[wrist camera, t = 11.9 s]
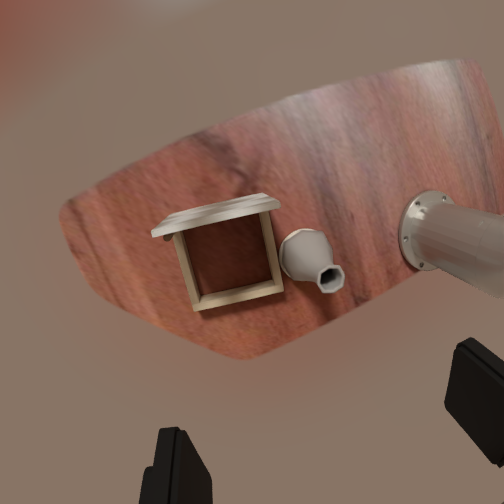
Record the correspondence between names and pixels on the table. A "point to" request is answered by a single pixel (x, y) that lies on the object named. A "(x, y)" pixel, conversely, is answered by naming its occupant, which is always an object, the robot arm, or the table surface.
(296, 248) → the flask
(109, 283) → the table surface
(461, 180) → the table surface
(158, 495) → the robot arm
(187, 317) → the table surface
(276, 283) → the open-lid wooden box
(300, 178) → the table surface
